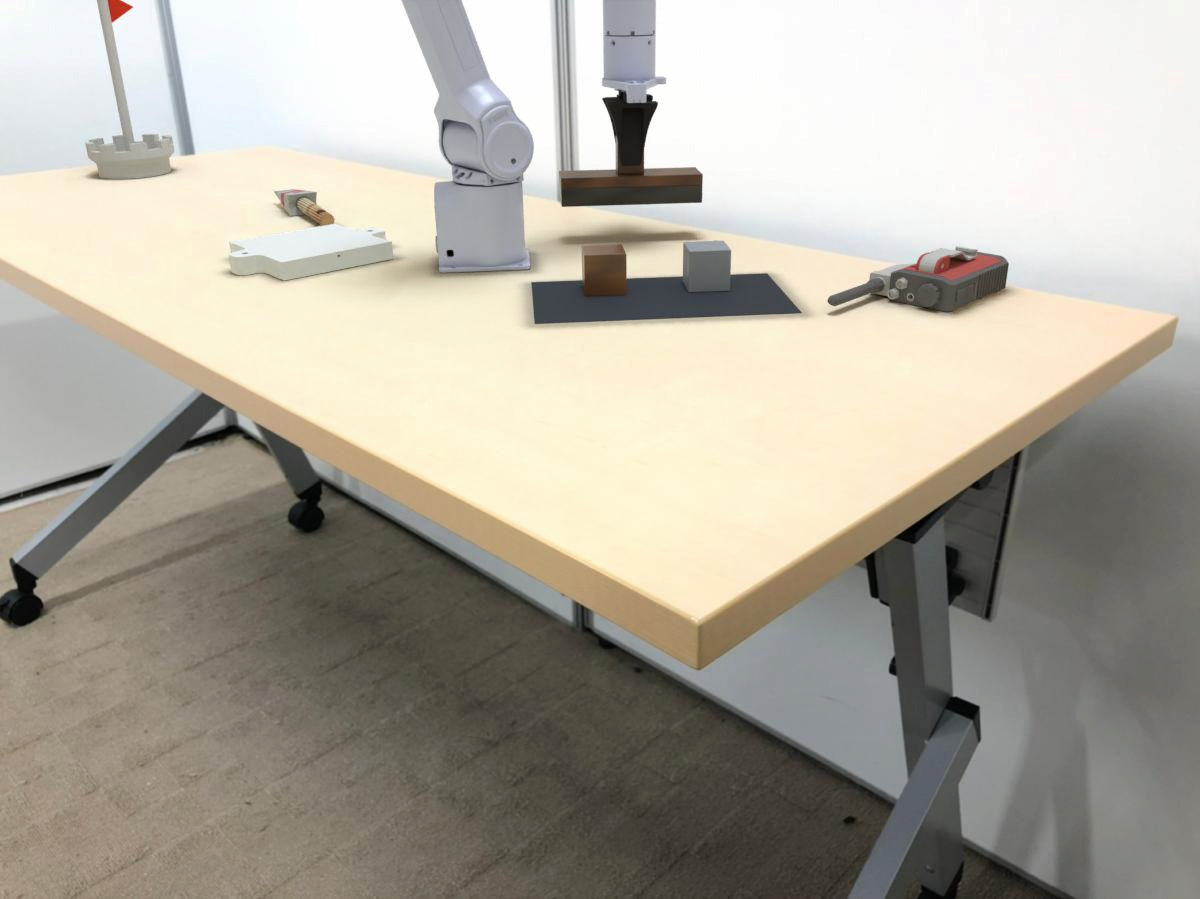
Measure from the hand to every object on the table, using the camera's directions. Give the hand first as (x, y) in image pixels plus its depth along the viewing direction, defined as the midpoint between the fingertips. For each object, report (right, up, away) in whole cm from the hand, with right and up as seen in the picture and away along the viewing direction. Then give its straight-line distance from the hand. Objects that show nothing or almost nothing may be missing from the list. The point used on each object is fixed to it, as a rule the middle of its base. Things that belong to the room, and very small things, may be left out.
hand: (629, 163), depth 121 cm
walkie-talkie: (+26, -19, -22) cm, 39 cm away
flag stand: (-79, +12, +53) cm, 96 cm away
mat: (+2, -18, -20) cm, 27 cm away
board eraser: (0, -4, +2) cm, 4 cm away
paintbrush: (-42, -2, +19) cm, 47 cm away
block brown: (-3, -17, -17) cm, 25 cm away
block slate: (+7, -17, -17) cm, 25 cm away
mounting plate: (-35, -12, -3) cm, 37 cm away
